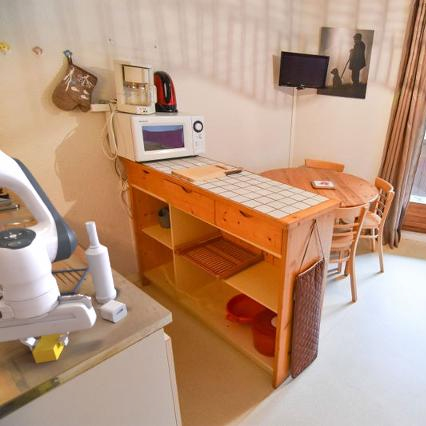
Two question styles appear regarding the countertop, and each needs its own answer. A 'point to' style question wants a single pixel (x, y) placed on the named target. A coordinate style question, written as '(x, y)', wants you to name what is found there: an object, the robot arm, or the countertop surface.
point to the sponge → (47, 348)
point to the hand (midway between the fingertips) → (50, 346)
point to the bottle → (99, 267)
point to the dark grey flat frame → (78, 282)
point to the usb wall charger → (113, 311)
